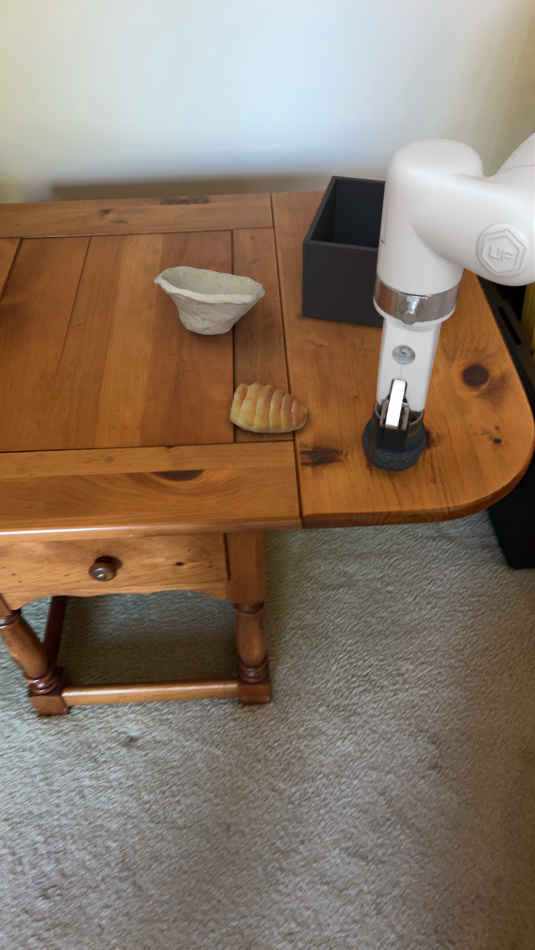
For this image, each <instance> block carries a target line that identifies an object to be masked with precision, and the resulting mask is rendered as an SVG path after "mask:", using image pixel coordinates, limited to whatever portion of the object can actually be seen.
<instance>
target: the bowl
mask: <svg viewBox="0 0 535 950" xmlns="http://www.w3.org/2000/svg"><path fill="white" fill-rule="evenodd" d="M153 283H154V284H156V285H158V286H159V287H160V288H161V289H162V291H163V292H164V293H165V294H166V295H168V296H169V297H170V298H171V299H172V301H173V303H174V304H175V306H176V308H177V311H178V318H179V319H180V321H181V323H182V325H183V326H184V327H185V329H186V330H188V331H190V332H193V333H196V334H200V335H204V336H205V335H206V336H213V335H223V334H226V333H227V332H229V331H230V330H231V329H232V328H233V326H234V325H235V323H237V322H238V321H239V320H240V319H241V318H242V317H243V316H245V315H246V314H247V313H248V312H249V311H250V310H251V309H252V308H253V307H254V306H255V305H256V304H257V303H258V302H259V300H260V299H261V298H263V297H264V296H265V295H266V291H265V289H264V287H263V284H261V283H259V282H257V281H255V280H254V279H252V278H251V277H248V276H243V275H242V276H241V275H235V274H231V273H224V272H218V271H214V270H211V269H203V268H202V269H201V268H196V267H191V266H185V265H182V266H181V265H180V266H175V267H168V268H166V269H164V270H163V271H162V272H161V273H160V274H158V276H157V277H155V278H154V279H153Z"/></svg>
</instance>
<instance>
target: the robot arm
mask: <svg viewBox="0 0 535 950" xmlns="http://www.w3.org/2000/svg"><path fill="white" fill-rule="evenodd" d="M385 173H386V175H385V180H384V181H385V191H384V201H383V210H382V220H381V230H380V240H379V250H378V260H377V270H376V280H375V290H374V306H375V308H376V310H377V311H378V312H379V313H380V315H382V316H383V317H384V322H383V328H382V329H381V330H382V331H381V339H380V349H379V357H378V358H379V359H378V369H377V380H376V382H377V383H376V395H375V396H376V398H375V399H376V400H375V401H377V402H378V404H379V405H380V406H381V405H382V404H383V406H382V412H381V418H379V420H378V427H377V435H376V442H375V446H376V447H377V448H381V449H387V450H393V451H398V452H404V451H405V446H406V440H407V435H408V429H409V424H410V423H407V421H408V416H409V410H410V409H411V411H417V412H420V411H422V410H423V409H424V410H425V406H426V403H427V398H428V393H429V389H430V383H431V379H432V374H433V369H434V364H435V360H436V354H437V350H438V344H439V339H440V334H441V330H442V328H441V327H442V322H445V321H447V320H448V319H449V318H450V317H451V316H452V315H453V314H454V312H455V310H456V306H457V302H458V297H459V292H460V287H461V283H462V279H463V274H464V269H465V270H467V271H470V272H471V273H473V274H475V275H477V276H479V277H481V278H483V279H485V280H487V281H490V282H493V283H495V284H499V285H503V286H508V287H509V286H510V287H519V286H520V287H521V286H527V285H530V284H533V283H535V132H533V133H532V134H531V135H529V136H528V138H526V139H525V140H524V141H523V142H522V143H521V144H520V145H518V147H517V148H516V149H515V150H514V151H513V152H512V153H511V154H510V155H509V156H508V157H507V159H506V160H505V162H504V163H503V164H501V166H500V168H499V169H498V170H497V172H496V173H495V174H493V175H490V176H486V175H485V172H484V163H483V161H482V158H481V156H480V154H479V153H478V152H477V151H476V150H475V149H474V148H472V147H471V146H470V145H468V144H466V143H465V142H464V143H463V142H462V141H458V140H455V139H450V138H444V137H443V138H441V137H430V138H429V137H428V138H427V137H426V138H420V139H415V140H412V141H409V142H407V143H405V144H404V145H402V146H400V147H399V148H398V149H397V150H396V151H395V152H394V153H393V155H392V156H391V158H390V160H389V161H388V164H387V168H386V172H385ZM389 393H391V396H388V395H389ZM404 395H405V396H406V399H403V397H404ZM388 406H389V407H388ZM401 408H405V409H404V414H403V420H402V418H400V413H401ZM387 410H388V412H387Z"/></svg>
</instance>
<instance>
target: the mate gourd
mask: <svg viewBox="0 0 535 950" xmlns="http://www.w3.org/2000/svg"><path fill="white" fill-rule="evenodd" d="M388 396H391V393H389V395H388ZM403 399H406V396H405V395H404V397H403ZM382 406H383V404H382V405H381V406H380V405H379V404H378V402H377V401H376V400H375V401H374V404H373V407H372V416H371V417H370V418H369V420H368V421H367V422H366V424H365V426H364V429H363V433H362V436H361V441H362V442H361V444H362V448H363V451H364V454H365V457H366V459H367V461H368V463H370V464H371V465H372V466H373V467H374V468H376V469H378V470H382V471H385V472H389V473H398V472H403V471H406V470H408V469H410V468H412V467H413V466H415V465H416V464H417V463H418V461H419V459H420V458H421V456H422V454H423V452H424V450H425V447H426V441H427V437H428V436H427V430H426V426H425V423H424V418H425V411H426V410H425V408H424V409H423V410H422V411H420V412H417V411H411V409H410V410H409V416H408V421H407V423H410V424H409V429H408V435H407V440H406V446H405V451H404V452H398V451H393V450H387V449H381V448H377V447H376V446H375V442H376V435H377V427H378V420H379V418H381V412H382ZM388 407H389V406H388ZM404 409H405V408H401V413H400V418H402V420H403V414H404ZM387 412H388V410H387Z"/></svg>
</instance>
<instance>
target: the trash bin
mask: <svg viewBox="0 0 535 950" xmlns="http://www.w3.org/2000/svg"><path fill="white" fill-rule="evenodd" d="M385 181H386V180H382V179H381V180H380V179H372V178H371V179H370V178H360V177H352V176H351V177H350V176H340V175H331V178H330V180H329V182H328V185H327V187H326V189H325V191H324V193H323V195H322V198H321V200H320V203H319V205H318V207H317V210H316V211H315V214H314V216H313V218H312V220H311V223H310V225H309V226H308V227H309V228H308V230H307V232H306V233H305V235H304V239H303V241H302V264H301V265H302V267H301V269H302V271H301V275H302V276H301V278H302V279H301V280H302V281H301V285H302V286H301V316H302V317H306V318H313V319H319V320H326V321H333V322H341V323H346V324H347V323H348V324H354V325H361V326H368V327H373V328H381V329H383V322H384V317H383V316H382V315H380V313H379V312H378V311H377V310H376V308H375V306H374V290H375V280H376V270H377V260H378V250H379V240H380V230H381V220H382V210H383V201H384V191H385Z"/></svg>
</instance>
